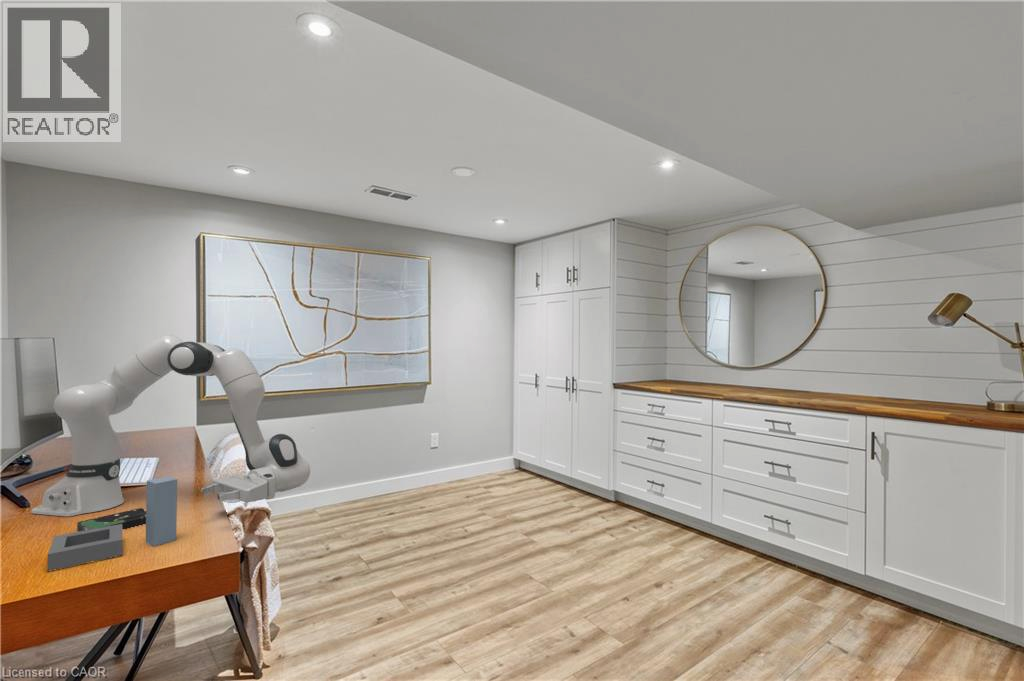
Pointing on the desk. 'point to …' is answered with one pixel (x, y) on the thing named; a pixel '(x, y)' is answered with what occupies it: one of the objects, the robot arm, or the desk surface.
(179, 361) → the robot arm
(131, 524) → the disk drive
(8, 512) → the desk surface
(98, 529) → the well block
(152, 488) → the blue block
